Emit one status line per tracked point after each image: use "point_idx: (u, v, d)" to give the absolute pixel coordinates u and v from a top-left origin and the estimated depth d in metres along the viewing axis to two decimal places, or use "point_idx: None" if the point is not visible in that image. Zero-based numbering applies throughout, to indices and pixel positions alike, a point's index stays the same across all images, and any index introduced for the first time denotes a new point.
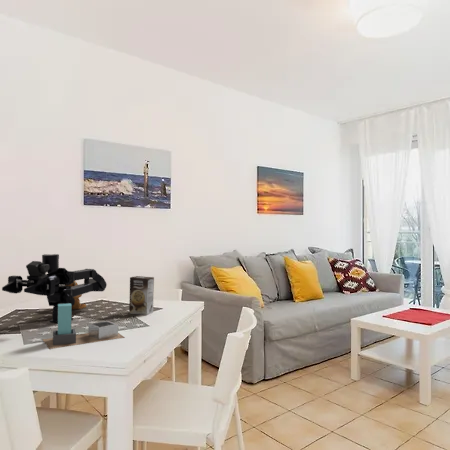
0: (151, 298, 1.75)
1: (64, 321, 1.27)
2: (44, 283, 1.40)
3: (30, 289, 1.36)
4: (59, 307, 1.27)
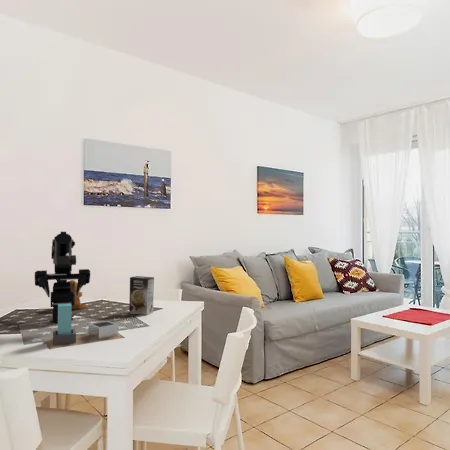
0: (151, 297, 1.75)
1: (64, 321, 1.27)
2: (84, 278, 1.45)
3: (79, 290, 1.42)
4: (59, 307, 1.27)
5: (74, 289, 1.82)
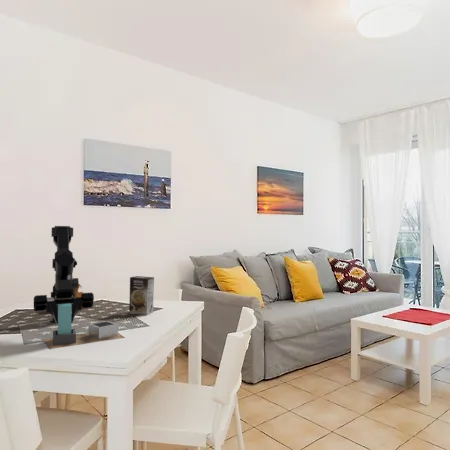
0: (151, 298, 1.75)
1: (64, 321, 1.27)
2: (80, 303, 1.33)
3: (74, 317, 1.30)
4: (59, 307, 1.27)
5: (75, 289, 1.82)
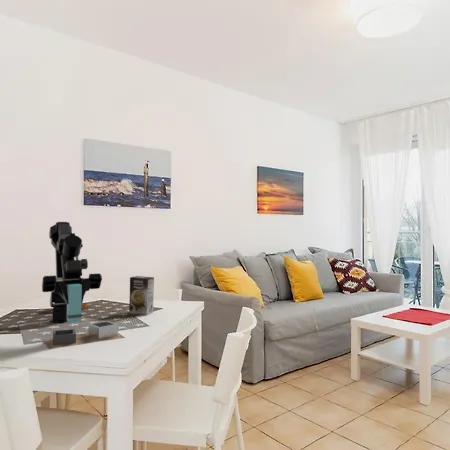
0: (151, 298, 1.75)
1: (75, 301, 1.29)
2: (88, 283, 1.35)
3: (83, 297, 1.32)
4: (70, 287, 1.28)
5: None
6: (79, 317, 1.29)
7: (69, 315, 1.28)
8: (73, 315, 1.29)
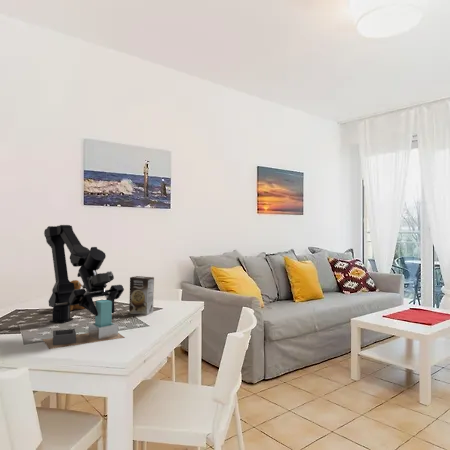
0: (151, 298, 1.75)
1: (106, 316, 1.35)
2: (115, 294, 1.42)
3: None
4: (102, 303, 1.34)
5: None
6: None
7: None
8: None
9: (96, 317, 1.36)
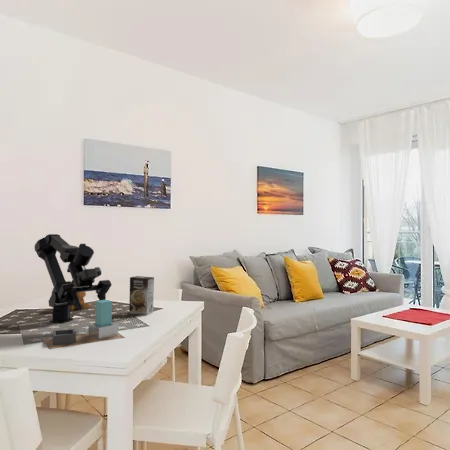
0: (151, 297, 1.75)
1: (106, 316, 1.35)
2: (106, 288, 1.49)
3: None
4: (102, 303, 1.34)
5: None
6: None
7: None
8: None
9: (96, 317, 1.36)
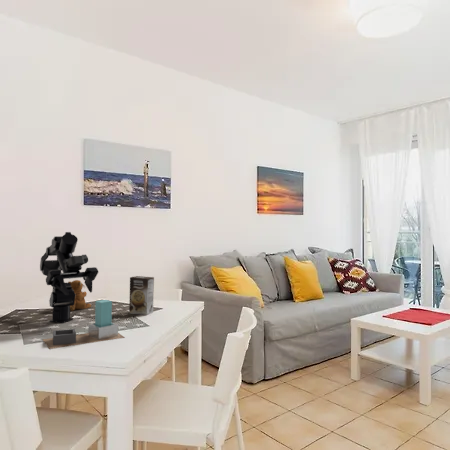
0: (151, 298, 1.75)
1: (106, 316, 1.35)
2: (93, 275, 1.55)
3: None
4: (102, 303, 1.34)
5: (79, 289, 1.83)
6: None
7: None
8: None
9: (96, 317, 1.36)
